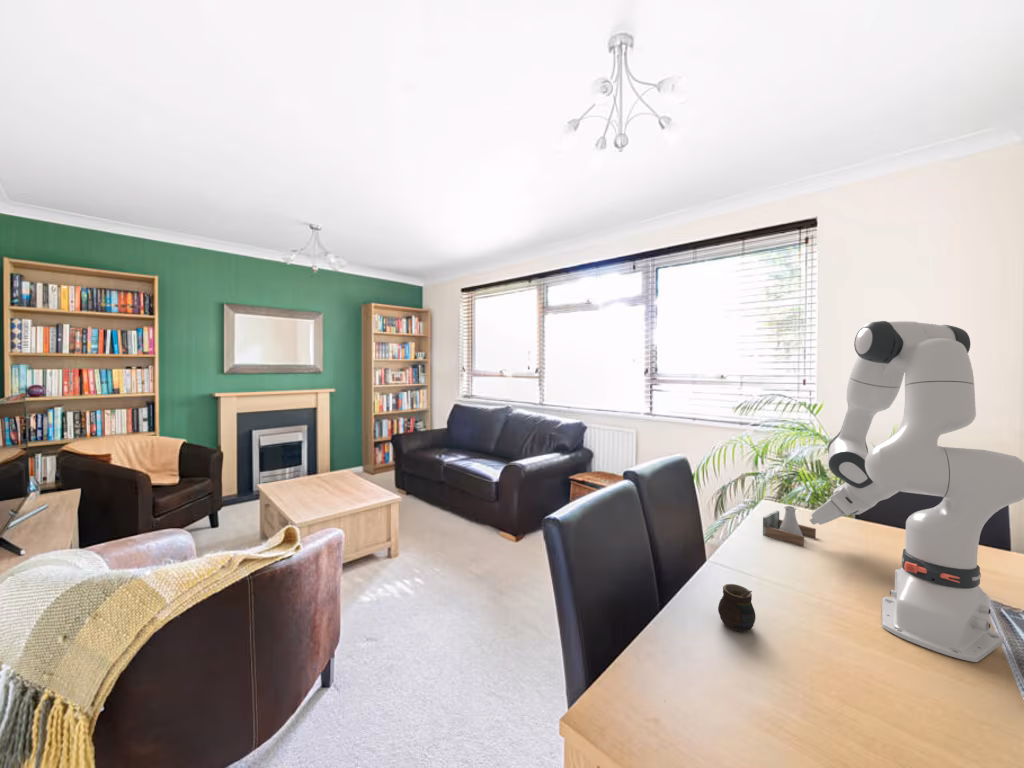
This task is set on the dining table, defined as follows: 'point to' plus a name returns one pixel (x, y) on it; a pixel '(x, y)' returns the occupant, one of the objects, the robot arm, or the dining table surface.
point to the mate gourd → (737, 608)
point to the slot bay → (771, 530)
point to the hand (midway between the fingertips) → (812, 521)
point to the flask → (790, 521)
